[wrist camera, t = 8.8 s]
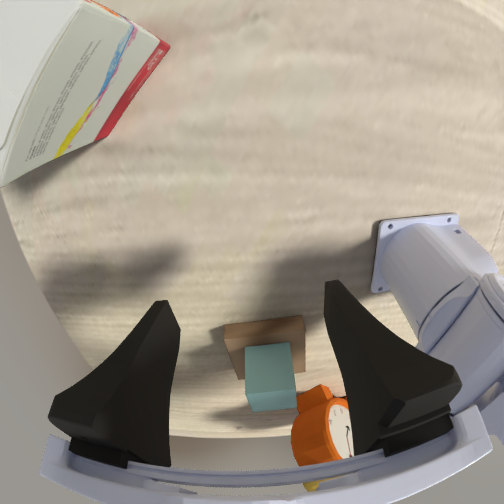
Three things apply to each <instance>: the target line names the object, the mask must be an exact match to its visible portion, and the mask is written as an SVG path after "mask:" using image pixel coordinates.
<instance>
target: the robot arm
mask: <svg viewBox="0 0 504 504" xmlns="http://www.w3.org/2000/svg"><path fill="white" fill-rule="evenodd" d="M448 218H449V219H448ZM458 221H459V215H458V214H456V213H450V214H440V215H430V216H420V217H410V218H400V219H391V220H384V221H382V222H381V223H380V224H379V231H378V240H377V248H376V256H375V263H374V270H373V277H372V283H371V292H372V293H380V292H385V291H390V290H391V292H392V293H393V295H394V297H395V299H396V300H397V302H398V304H399V306H400V307H401V309H402V311H403V313H404V315H405V316H406V318H407V320H408V322H409V324H410V326H411V328H412V329H413V331H414V333H415V335H416V337H417V339H418V344H417V346H416V347H414V346H412V345H410V344H409V343H407V342H406V341H404V340H403V339H401V338H400V337H398V336H397V335H395V334H394V333H393V332H392V331H390V330H389V329H388V328H386V327H385V326H384V325H383V324H382V323H381V322H379V321H378V320H377V319H376V318H375V317H374V316H373V315H372V314H371V313H370V312H369V311H368V310H367V309H366V308H365V307H364V306H362V305H361V304H360V302H359V301H358V300H357V299H356V298H355V297H354V296H353V295H352V294H351V293H350V292H349V291H348V290H347V288H346V287H345V286H344V285H343V284H342V283H341V282H340V281H339V280H334V281H327V282H325V298H324V318H325V323H326V327H327V332H328V335H329V338H330V341H331V344H332V347H333V350H334V353H335V356H336V359H337V362H338V365H339V368H340V371H341V374H342V378H343V382H344V387H345V392H346V397H347V403H348V409H349V415H350V422H351V430H352V439H353V450H354V456H353V457H349V458H345V459H340V460H335V461H330V462H325V463H320V464H314V465H307V466H300V467H293V468H283V469H272V470H257V471H205V470H190V469H179V468H170V466H171V458H170V446H169V406H170V393H171V386H172V381H173V376H174V371H175V366H176V362H177V357H178V352H179V344H180V331H181V329H180V327H179V325H178V323H177V321H176V318H175V316H174V314H173V312H172V309H171V307H170V305H169V303H168V300H162V301H155V303H154V304H153V305H152V306H151V307H150V309H149V310H148V311H147V312H146V314H145V315H144V316H143V318H142V319H141V320H140V321H139V323H138V324H137V325H136V326H135V328H134V329H133V330H132V331H131V333H130V334H129V335H128V336H127V337H126V338H125V340H124V341H123V342H122V343H121V344H120V345H119V347H118V348H117V349H116V350H115V351H114V352H113V353H112V354H111V355H110V356H109V357H108V358H107V359H106V360H105V361H104V362H103V363H102V364H100V365H99V366H98V367H97V368H96V369H94V370H93V371H92V372H91V373H90V374H88V375H87V376H86V377H84V378H83V379H82V380H80V381H79V382H77V383H76V384H75V385H73V386H71V387H70V388H68V389H66V390H65V391H63V392H61V393H60V394H58V395H56V396H55V398H54V400H53V403H52V406H51V409H50V412H49V414H48V419H49V421H50V422H51V423H52V424H53V425H55V426H56V427H57V428H59V429H60V430H62V431H63V432H64V433H66V434H67V435H69V436H70V437H72V438H71V442H69V441H67V440H64V439H62V438H60V437H57V436H54V435H52V434H50V435H49V437H48V441H47V444H46V448H45V452H44V455H43V459H42V463H41V467H40V472H39V473H40V475H42V476H43V477H45V478H47V479H49V480H51V481H53V482H55V483H57V484H59V485H61V486H63V487H65V488H67V489H69V490H72V491H74V492H76V493H78V494H81V495H83V496H86V497H88V498H90V499H92V500H95V501H98V502H100V503H103V504H391V503H393V502H396V501H399V500H401V499H403V498H406V497H408V496H411V495H413V494H416V493H418V492H420V491H422V490H424V489H427V488H429V487H431V486H433V485H435V484H437V483H438V482H441V481H443V480H445V479H446V478H448V477H450V476H452V475H454V474H455V473H457V472H459V471H461V470H462V469H464V468H466V467H467V466H469V465H471V464H472V463H474V462H476V461H477V460H479V459H480V458H482V457H483V456H485V455H486V454H488V453H489V452H491V451H492V449H493V447H492V445H491V441H490V438H489V436H488V435H497V437H498V438H499V440H500V441H501V442H502V444H503V445H504V276H503V275H501V274H499V272H498V268H497V265H496V263H495V261H494V259H493V257H492V256H491V255H490V253H489V252H488V251H487V250H486V249H485V248H483V247H482V246H481V245H480V244H479V243H478V242H477V241H476V240H475V239H474V238H473V237H472V236H471V235H470V234H468V233H467V232H466V231H465V230H464V229H463V228H462V227H461V226H459V225H458ZM389 224H391V226H390V227H388V226H389ZM380 287H381V288H380ZM340 476H341V477H340ZM335 477H337V478H335ZM330 478H334V479H330ZM325 479H330V480H326V481H323V482H320V483H319V484H318V485H319V487H317V488H316V491H312V492H304V493H294V494H281V495H263V496H219V495H199V494H197V493H196V492H193V491H189V490H185V489H183V488H181V487H179V486H175V485H170V484H165V483H160V482H158V481H161V482H167V483H174V484H182V485H192V486H206V487H233V488H236V487H237V488H240V487H268V486H281V485H291V484H299V483H306V482H313V481H319V480H325Z"/></svg>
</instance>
